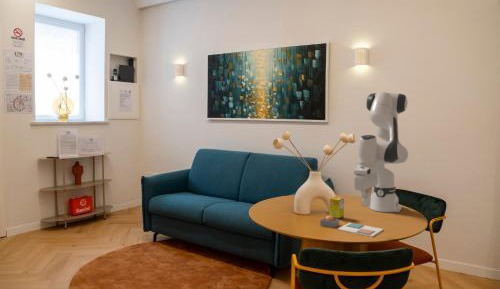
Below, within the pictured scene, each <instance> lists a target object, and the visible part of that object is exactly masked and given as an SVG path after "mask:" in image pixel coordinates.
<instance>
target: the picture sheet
mask: <svg viewBox="0 0 500 289" xmlns="http://www.w3.org/2000/svg"><path fill="white" fill-rule="evenodd" d="M337 231H341V232H346V233H350V234H357V235H360V236H366V237H371V238H373V237H375V236H376V235H378V234H380V233H381V232H383V231H384V228H380V227H374V226H369V225H364V224H359V223H353V222H348V223H346V224H344V225H342V226H340V227H338V228H337Z"/></svg>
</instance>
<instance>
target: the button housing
mask: <svg viewBox="0 0 500 289" xmlns="http://www.w3.org/2000/svg"><path fill="white" fill-rule="evenodd" d="M319 222H320V223H319V225H320V226H322V227H328V228H331V229H333V228H335V227H337V226H339V225H340V219H335V218H334V221H328V220H326V217H323V218H321V219H320V221H319Z"/></svg>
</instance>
